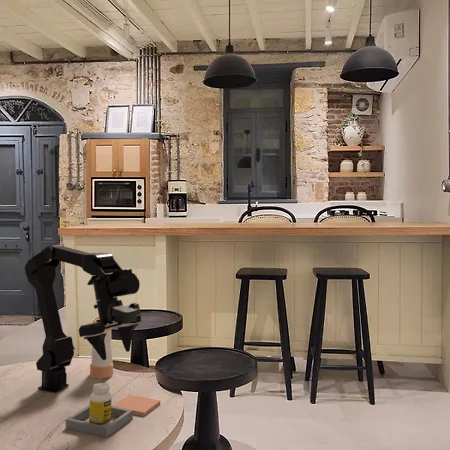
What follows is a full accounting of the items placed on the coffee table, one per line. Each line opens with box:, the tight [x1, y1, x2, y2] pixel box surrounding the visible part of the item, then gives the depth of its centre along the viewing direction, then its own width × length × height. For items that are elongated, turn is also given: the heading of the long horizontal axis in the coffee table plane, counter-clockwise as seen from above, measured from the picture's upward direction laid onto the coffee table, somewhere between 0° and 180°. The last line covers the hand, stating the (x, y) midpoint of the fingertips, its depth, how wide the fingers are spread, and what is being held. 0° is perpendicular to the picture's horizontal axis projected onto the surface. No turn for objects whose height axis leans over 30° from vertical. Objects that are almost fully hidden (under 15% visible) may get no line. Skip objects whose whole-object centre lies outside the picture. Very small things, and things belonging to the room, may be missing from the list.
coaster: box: [112, 394, 161, 417], centre depth 145 cm, size 10×9×1 cm
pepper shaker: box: [89, 317, 114, 380], centre depth 168 cm, size 7×7×19 cm
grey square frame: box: [65, 404, 134, 438], centre depth 134 cm, size 12×12×2 cm
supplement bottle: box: [88, 382, 112, 426], centre depth 134 cm, size 5×5×10 cm
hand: (116, 355), depth 143 cm, fingers open, 9 cm apart
